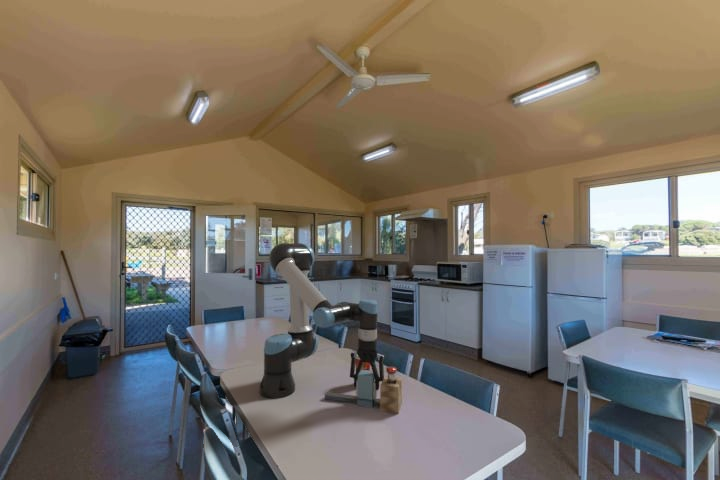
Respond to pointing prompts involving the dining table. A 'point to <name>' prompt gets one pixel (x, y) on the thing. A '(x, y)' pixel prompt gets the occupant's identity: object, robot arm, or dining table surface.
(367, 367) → the paper cup
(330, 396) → the rail
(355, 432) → the dining table surface
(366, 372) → the block
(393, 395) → the housing
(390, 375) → the plunger
